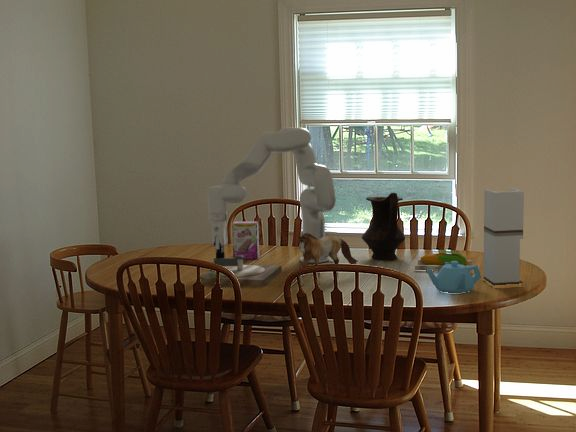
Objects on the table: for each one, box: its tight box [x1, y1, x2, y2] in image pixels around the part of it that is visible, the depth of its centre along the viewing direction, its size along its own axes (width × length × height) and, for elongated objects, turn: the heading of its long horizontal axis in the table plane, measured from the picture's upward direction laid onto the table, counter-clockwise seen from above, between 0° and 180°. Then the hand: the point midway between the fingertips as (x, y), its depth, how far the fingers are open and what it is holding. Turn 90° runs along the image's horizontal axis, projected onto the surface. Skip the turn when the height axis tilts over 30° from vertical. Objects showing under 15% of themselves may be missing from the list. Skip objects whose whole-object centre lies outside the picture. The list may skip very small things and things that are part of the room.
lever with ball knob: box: [213, 255, 244, 270], centre depth 319 cm, size 12×4×6 cm, turn 89°
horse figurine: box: [297, 233, 359, 286], centre depth 309 cm, size 31×8×21 cm, turn 133°
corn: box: [420, 250, 468, 266], centre depth 324 cm, size 7×8×20 cm
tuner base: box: [199, 263, 283, 287], centre depth 320 cm, size 27×26×4 cm
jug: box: [361, 192, 406, 262], centre depth 343 cm, size 21×18×30 cm
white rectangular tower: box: [483, 187, 525, 286], centre depth 294 cm, size 11×11×35 cm
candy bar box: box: [231, 221, 260, 260], centre depth 355 cm, size 11×5×16 cm, turn 84°
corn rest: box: [414, 258, 473, 272], centre depth 324 cm, size 22×12×2 cm, turn 75°
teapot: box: [426, 261, 483, 293], centre depth 288 cm, size 15×15×11 cm
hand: (220, 262), depth 322 cm, fingers closed
